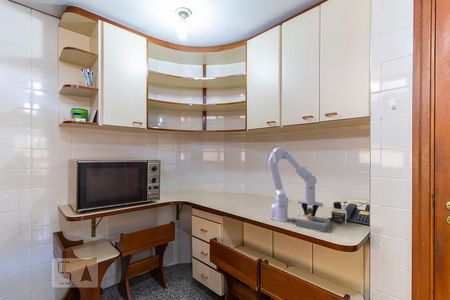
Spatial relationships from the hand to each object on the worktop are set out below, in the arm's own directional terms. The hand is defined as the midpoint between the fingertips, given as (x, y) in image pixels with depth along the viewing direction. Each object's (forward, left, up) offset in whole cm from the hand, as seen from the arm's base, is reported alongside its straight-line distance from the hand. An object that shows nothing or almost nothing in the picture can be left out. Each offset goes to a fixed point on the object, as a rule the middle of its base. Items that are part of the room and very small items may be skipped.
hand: (309, 216), depth 135 cm
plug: (0, 0, -2) cm, 2 cm away
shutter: (-1, -10, +1) cm, 10 cm away
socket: (+5, -10, -2) cm, 11 cm away
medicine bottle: (+15, +6, -2) cm, 16 cm away
